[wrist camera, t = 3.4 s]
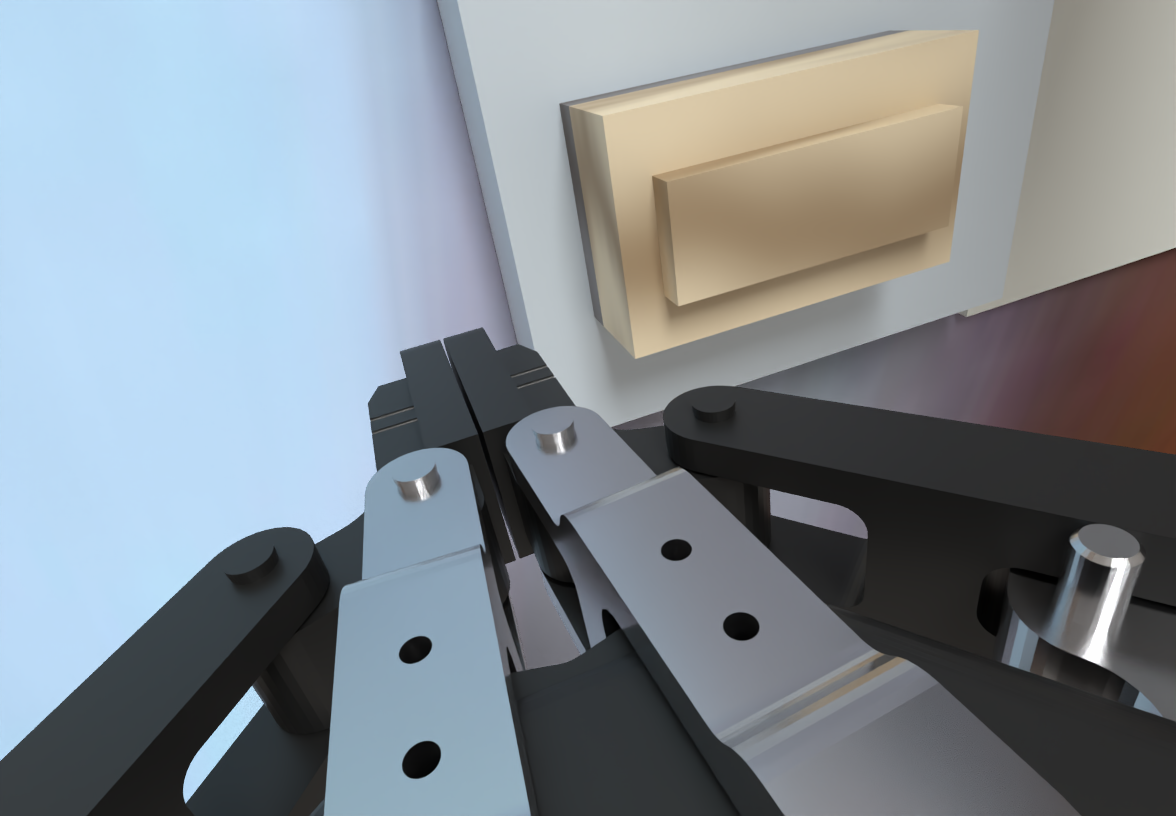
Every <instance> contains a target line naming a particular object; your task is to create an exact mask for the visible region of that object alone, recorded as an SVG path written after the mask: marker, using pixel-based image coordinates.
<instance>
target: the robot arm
mask: <svg viewBox="0 0 1176 816" xmlns="http://www.w3.org/2000/svg"><path fill="white" fill-rule="evenodd" d="M443 340H444V344H445V348H446V351H447V355H448V358H449V361H450V363H449V361H448V358H447V356H446V354H445V351H444V349H443V346H442V344H441V341H440V340H438V341H434V342H431V343H427V344H424V345H420V346H417V347H414V348H410V349H407V350H403V351H400V354H401V358H402V362H403V366H404V370H405V374H406V377H407V378H405V379H401V380H398V381H395V382H391V383H388V384H385V385H381V386H378V388H377V389H376V391H375V393H374V394H373V396H372V398H371V399H370V401H369V403H368V407H369V415H370V420H371V430H372V434H373V435H372V438H373V445H374V453H375V460H376V468H377V472H376V474H375V475H374V476H373V477H372V478H371V480H370V481H369V482H368V485H367V487H366V491H365V510H364V513H363V514H362V515H360V516H359V517H358V518H357V519H356V520H355V521H353V522H352V523H350V524H349V525H348V526H346V527H344V528H343V529H341V530H340V531H338V532H336V533H334V534H333V535H331V536H329V537H327V538H325V539H324V540H322V541H320V542H318V543H316V544H314V542H313V540H312V538H311V537H310V535H309V534H308V533H306V532H305V531H303V530H301V529H297V528H291V527H282V528H273V529H268V530H265V531H261V532H258V533H255V534H253V535H250V536H248V537H245V538H243V539H241V540H239V541H237V542H236V543H234V544H232V545H231V546H229V547H227V548H226V549H225V550H223V551H222V552H220V553H219V554H218V555H217V556H216V557H214V558H213V559H212V560H211V561H210V562H209V563H208V564H207V565H206V566H205V567H204V568H203V569H201V570H200V571H199V572H198V573H197V574H196V575H195V576H194V577H193V578H192V579H191V580H190V581H189V582H188V583H187V584H186V585H185V586H184V587H183V588H182V589H180V590H179V591H178V592H177V593H176V594H175V595H174V596H173V597H172V598H171V599H170V600H169V601H168V602H167V603H166V604H165V605H164V606H163V607H162V608H161V609H159V610H158V611H157V612H156V613H155V614H154V615H153V616H152V617H151V618H150V619H149V620H148V621H147V622H146V623H145V624H144V625H143V626H142V627H141V628H140V629H138V630H137V631H136V632H135V633H134V634H133V635H132V636H131V637H130V638H129V639H128V640H127V641H126V642H125V643H124V644H123V645H122V646H121V647H120V648H119V649H118V650H116V651H115V652H114V653H113V654H112V655H111V656H110V657H109V658H108V659H107V660H106V661H105V662H104V663H103V664H102V665H101V666H100V667H99V668H98V669H97V670H95V671H94V672H93V673H92V674H91V675H90V676H89V677H88V678H87V679H86V680H85V681H84V682H83V683H82V684H81V685H80V686H79V687H78V688H77V689H76V690H74V691H73V692H72V693H71V694H70V695H69V696H68V697H67V698H66V699H65V700H64V701H63V702H62V703H61V704H60V705H59V706H58V707H57V708H56V709H55V710H53V711H52V712H51V713H50V714H49V715H48V716H47V717H46V718H45V719H44V720H43V721H42V722H41V723H40V724H39V725H38V726H37V727H36V728H35V729H34V730H32V731H31V732H30V733H29V734H28V735H27V736H26V737H25V738H24V739H23V740H22V741H21V742H20V743H19V744H18V745H17V746H16V747H15V748H14V749H13V750H11V751H10V752H9V753H8V754H7V755H6V756H5V757H4V758H3V759H2V760H1V761H0V816H1176V455H1174V454H1167V453H1161V452H1154V451H1148V450H1141V449H1135V448H1128V447H1122V446H1115V445H1109V444H1102V443H1096V442H1090V441H1083V440H1077V439H1070V438H1064V437H1057V436H1051V435H1044V434H1038V433H1031V432H1025V431H1018V430H1012V429H1006V428H999V427H993V426H986V425H980V424H973V423H967V422H960V421H954V420H947V419H941V418H934V417H928V416H922V415H915V414H909V413H902V412H896V411H889V410H883V409H876V408H870V407H863V406H857V405H850V404H844V403H838V402H831V401H825V400H818V399H812V398H805V397H799V396H792V395H786V394H779V393H773V392H766V391H760V390H754V389H747V388H741V387H734V386H707V387H700V388H697V389H693V390H690V391H687V392H685V393H683V394H681V395H679V396H677V397H676V398H674V399H673V400H672V401H671V402H670V403H669V404H668V405H667V406H666V408H665V410H664V413H663V420H664V426H658V427H651V428H643V429H634V430H615V429H612V428H611V427H610V426H609V425H608V424H607V423H606V422H605V421H604V420H603V419H602V418H601V417H600V416H599V415H598V414H597V413H596V412H594V411H592V410H590V409H587V408H583V407H578V406H575V404H574V403H573V401H572V400H571V399H570V397H569V396H568V394H567V393H566V391H565V390H564V389H563V387H562V386H561V384H560V383H559V382H558V380H557V379H556V377H554V374H553V373H552V372H551V370H550V369H549V367H547V365H546V363H545V362H544V360H543V359H542V357H541V356H540V355H539V353H538V352H537V351H534V350H532V349H529V348H527V347H524V346H522V345H520V344H518V345H514V346H511V347H508V348H504V349H501V350H498V351H496V350H495V348H494V346H493V344H492V343H491V341H490V339H489V337H488V336H487V334H486V332H485V330H484V329H483V328H478V329H475V330H472V331H468V332H465V333H461V334H458V335H454V336H451V337H448V338H444V339H443ZM450 364H451V366H450ZM770 489H773V490H777V491H781V492H786V493H790V494H794V495H799V496H803V497H807V498H812V499H816V500H820V501H824V502H829V503H833V504H837V505H841V506H844V507H846V508H848V509H850V510H851V511H853V512H854V513H856V514H857V515H858V516H859V517H860V518H861V519H862V520H863V522H864V523H865V525H866V527H867V531H868V539H863V538H859V537H855V536H851V535H847V534H843V533H839V532H835V531H831V530H827V529H823V528H819V527H815V526H811V525H808V524H804V523H800V522H796V521H792V520H788V519H784V518H780V517H776V516H772V515H771V513H770ZM500 508H501V509H500ZM501 511H502V512H501ZM502 514H503V516H504V519H505V521H506V524H507V527H508V529H509V532H510V534H511V537H512V539H513V542H514V545H515V547H516V550H517V552H518V555H519V557H520V558H523V557H525V556H528V555H531V554H533V553H534V554H535V556H536V558H537V561H538V563H539V567H540V570H541V574H542V577H543V581H544V585H545V588H546V591H547V593H548V595H549V597H550V599H551V601H552V603H553V605H554V606H555V608H556V610H557V612H558V614H559V616H560V618H561V619H562V621H563V623H564V625H565V627H566V629H567V630H568V632H569V634H570V636H571V638H572V640H573V642H574V643H575V645H576V647H577V649H578V651H579V653H580V656H579V657H577V658H575V659H574V660H572V661H569V662H567V663H563V664H559V665H553V666H547V667H542V668H536V669H530V670H528V668H527V663H526V659H525V655H524V650H523V646H522V642H521V637H520V633H519V629H518V624H517V620H516V616H515V611H514V607H513V604H512V601H511V597H510V594H509V589H510V580H509V575H508V572H507V569H506V566H505V564H507V563H510V562H512V561H515V560H516V559H515V556H514V553H513V549H512V546H511V543H510V539H509V536H508V533H507V529H506V526H505V523H504V519H503V516H502ZM251 686H253V688H254V689H255V691H256V692H257V694H258V695H259V697H260V698H261V700H262V701H263V703H264V705H263V706H262V707H261V708H260V710H259V711H258V712H257V713H256V715H255V716H254V717H253V719H252V720H251V721H250V722H249V724H248V725H247V726H246V727H245V729H244V730H243V731H242V733H241V734H240V735H239V736H238V738H237V739H236V740H235V742H234V743H233V744H232V745H231V747H230V748H229V749H228V750H227V752H226V753H225V754H224V756H223V757H222V758H221V759H220V761H219V762H218V763H217V765H216V766H215V767H214V768H213V770H212V771H211V772H210V773H209V775H208V776H207V777H206V779H205V780H204V781H203V782H202V784H201V785H200V786H199V787H198V789H197V790H196V791H195V793H194V794H193V795H192V796H191V798H190V799H189V800H188V802H187V803H186V804H185V801H184V798H183V784H184V779H185V776H186V773H187V770H188V768H189V765H190V763H191V762H192V760H193V758H194V756H195V755H196V754H197V752H198V751H199V750H200V748H201V747H202V746H203V745H204V743H205V742H206V741H207V740H208V739H209V737H210V736H211V735H212V734H213V732H214V731H215V730H216V729H217V728H218V726H219V725H220V724H221V723H222V721H223V720H224V719H225V718H226V717H227V715H228V714H229V713H230V712H231V710H232V709H233V708H234V707H235V706H236V704H237V703H238V702H239V701H240V699H241V698H242V697H243V696H244V695H245V693H246V692H247V691H248V690H249V689H250V687H251Z"/></svg>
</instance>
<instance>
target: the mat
mask: <svg viewBox="0 0 1176 816" xmlns="http://www.w3.org/2000/svg"><path fill="white" fill-rule="evenodd" d="M1173 248H1176V0H1054V5H1053V11H1052V17H1051V23H1050V28H1049V34H1048V40H1047V45H1046V51H1045V57H1044V62H1043V68H1042V74H1041V80H1040V85H1039V91H1038V97H1037V102H1036V108H1035V114H1034V119H1033V125H1032V131H1031V137H1030V142H1029V148H1028V154H1027V159H1026V165H1025V171H1024V177H1023V182H1022V188H1021V194H1020V199H1019V205H1018V211H1017V216H1016V222H1015V228H1014V234H1013V239H1012V245H1011V251H1010V256H1009V262H1008V268H1007V274H1006V279H1005V285H1004V291H1003V296H1002V298H1001V299H998V300H995V301H992V302H989V303H986V304H983V305H980V306H977V307H974V308H971V309H968V310H965V311H962V312H959V314H961V315H963V316H965V317H969V316H972V315H975V314H978V313H981V312H984V311H987V310H990V309H993V308H996V307H999V306H1002V305H1005V304H1008V303H1011V302H1014V301H1017V300H1020V299H1023V298H1026V297H1029V296H1032V295H1035V294H1038V293H1041V292H1044V291H1047V290H1050V289H1053V288H1056V287H1059V286H1062V285H1065V284H1068V283H1071V282H1074V281H1077V280H1080V279H1083V278H1086V277H1089V276H1092V275H1095V274H1098V273H1101V272H1104V271H1107V270H1110V269H1113V268H1116V267H1119V266H1122V265H1125V264H1128V263H1131V262H1134V261H1137V260H1140V259H1143V258H1146V257H1149V256H1152V255H1155V254H1158V253H1161V252H1164V251H1167V250H1170V249H1173Z"/></svg>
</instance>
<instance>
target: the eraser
mask: <svg viewBox="0 0 1176 816" xmlns="http://www.w3.org/2000/svg"><path fill="white" fill-rule="evenodd" d="M978 35H979V30H889V31H885V32H880V33H875V34H871V35H866V36H862V37H857V38H853V39H848V40H844V41H839V42H835V43H830V44H826V45H821V46H817V47H812V48H808V49H803V50H799V51H794V52H790V53H785V54H780V55H776V56H771V57H767V58H762V59H758V60H753V61H749V62H744V63H740V64H735V65H731V66H726V67H722V68H717V69H713V70H708V71H704V72H699V73H695V74H690V75H686V76H681V77H676V78H672V79H667V80H663V81H658V82H654V83H649V84H645V85H640V86H636V87H631V88H627V89H622V90H618V91H613V92H609V93H604V94H600V95H595V96H591V97H586V98H582V99H577V100H572V101H568V102H563V103H559V105H560V111H561V117H562V123H563V129H564V135H565V142H566V148H567V154H568V160H569V166H570V172H571V178H572V184H573V190H574V196H575V202H576V208H577V214H578V220H579V226H580V232H581V238H582V244H583V251H584V257H585V263H586V269H587V275H588V281H589V287H590V293H591V299H592V305H593V311H594V317H595V318H596V319H597V320H598V321H599V322H600V323H601V324H602V325H603V326H604V327H605V328H606V329H607V330H608V331H609V332H610V333H611V335H612V336H613V337H614V338H615V339H616V340H617V341H618V342H619V343H620V344H621V345H622V346H623V347H624V348H625V349H626V350H627V351H628V352H629V353H630V354H631V355H632V356H633V357H634V358H635V359H637V358H641V357H644V356H647V355H650V354H653V353H657V352H660V351H663V350H666V349H670V348H673V347H676V346H679V345H682V344H686V343H689V342H692V341H695V340H699V339H702V338H705V337H708V336H711V335H715V334H718V333H721V332H724V331H728V330H731V329H734V328H737V327H740V326H744V325H747V324H750V323H753V322H757V321H760V320H763V319H766V318H769V317H773V316H776V315H779V314H782V313H786V312H789V311H792V310H795V309H798V308H802V307H805V306H808V305H811V304H815V303H818V302H821V301H824V300H827V299H831V298H834V297H837V296H840V295H844V294H847V293H850V292H853V291H856V290H860V289H863V288H866V287H869V286H873V285H876V284H879V283H882V282H885V281H889V280H892V279H895V278H898V277H902V276H905V275H908V274H911V273H914V272H918V271H921V270H924V269H927V268H931V267H934V266H937V265H940V264H943V263H947V262H950V254H951V246H952V238H953V231H954V223H955V215H956V207H957V199H958V191H959V184H960V176H961V168H962V160H963V152H964V144H965V137H966V129H967V121H968V113H969V105H970V98H971V90H972V82H973V74H974V66H975V58H976V51H977V43H978Z"/></svg>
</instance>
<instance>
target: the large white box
mask: <svg viewBox="0 0 1176 816" xmlns="http://www.w3.org/2000/svg"><path fill="white" fill-rule="evenodd" d="M437 3H438V7H439V11H440V15H441V20H442V24H443V28H444V32H445V37H446V41H447V45H448V49H449V54H450V58H451V62H452V66H453V71H454V75H455V79H456V83H457V88H458V92H459V96H460V100H461V105H462V109H463V113H464V117H465V122H466V126H467V130H468V134H469V139H470V143H471V147H472V151H473V156H474V160H475V164H476V168H477V173H478V177H479V181H480V185H481V190H482V194H483V198H484V203H485V207H486V211H487V215H488V220H489V224H490V228H491V232H492V237H493V241H494V245H495V249H496V254H497V258H498V262H499V266H500V271H501V275H502V279H503V283H504V288H505V292H506V296H507V300H508V305H509V309H510V313H511V317H512V322H513V326H514V330H515V334H516V339H517V343H518V344H520V345H522V346H524V347H527V348H529V349H532V350H534V351H537V352H538V353H539V355H540V356H541V357H542V359H543V360H544V362H545V363H546V365H547V367H549V369H550V370H551V372H552V373H553V374H554V377H556V379H557V380H558V382H559V383H560V384H561V386H562V387H563V389H564V390H565V391H566V393H567V394H568V396H569V397H570V399H571V400H572V401H573V403H574V404H575V406H578V407H583V408H587V409H590V410H592V411H594V412H596V413H597V414H598V415H599V416H600V417H601V418H602V419H603V420H604V421H605V422H606V423H607V424H608V425H609V426H610V427H613V426H616V425H619V424H622V423H625V422H628V421H631V420H634V419H637V418H640V417H643V416H646V415H650V414H653V413H656V412H659V411H662V410H665V408H666V406H667V405H668V404H669V403H670V402H671V401H672V400H673V399H674V398H676V397H677V396H679V395H681V394H683V393H685V392H687V391H690V390H693V389H697V388H700V387H707V386H737V385H740V384H743V383H746V382H750V381H753V380H756V379H759V378H762V377H765V376H768V375H771V374H774V373H777V372H780V371H783V370H786V369H789V368H792V367H795V366H798V365H801V364H804V363H807V362H810V361H813V360H816V359H819V358H822V357H825V356H828V355H831V354H834V353H837V352H840V351H843V350H846V349H850V348H853V347H856V346H859V345H862V344H865V343H868V342H871V341H874V340H877V339H880V338H883V337H886V336H889V335H892V334H895V333H898V332H901V331H904V330H907V329H910V328H913V327H916V326H919V325H922V324H925V323H928V322H931V321H934V320H937V319H940V318H943V317H947V316H950V315H953V314H956V313H959V312H962V311H965V310H968V309H971V308H974V307H977V306H980V305H983V304H986V303H989V302H992V301H995V300H998V299H1001V298H1002V296H1003V291H1004V285H1005V279H1006V274H1007V268H1008V262H1009V256H1010V251H1011V245H1012V239H1013V234H1014V228H1015V222H1016V216H1017V211H1018V205H1019V199H1020V194H1021V188H1022V182H1023V177H1024V171H1025V165H1026V159H1027V154H1028V148H1029V142H1030V137H1031V131H1032V125H1033V119H1034V114H1035V108H1036V102H1037V97H1038V91H1039V85H1040V80H1041V74H1042V68H1043V62H1044V57H1045V51H1046V45H1047V40H1048V34H1049V28H1050V23H1051V17H1052V11H1053V5H1054V0H437ZM889 30H979V35H978V43H977V51H976V58H975V66H974V74H973V82H972V90H971V98H970V105H969V113H968V121H967V129H966V137H965V144H964V152H963V160H962V168H961V176H960V184H959V191H958V199H957V207H956V215H955V223H954V231H953V238H952V246H951V254H950V262H947V263H943V264H940V265H937V266H934V267H931V268H927V269H924V270H921V271H918V272H914V273H911V274H908V275H905V276H902V277H898V278H895V279H892V280H889V281H885V282H882V283H879V284H876V285H873V286H869V287H866V288H863V289H860V290H856V291H853V292H850V293H847V294H844V295H840V296H837V297H834V298H831V299H827V300H824V301H821V302H818V303H815V304H811V305H808V306H805V307H802V308H798V309H795V310H792V311H789V312H786V313H782V314H779V315H776V316H773V317H769V318H766V319H763V320H760V321H757V322H753V323H750V324H747V325H744V326H740V327H737V328H734V329H731V330H728V331H724V332H721V333H718V334H715V335H711V336H708V337H705V338H702V339H699V340H695V341H692V342H689V343H686V344H682V345H679V346H676V347H673V348H670V349H666V350H663V351H660V352H657V353H653V354H650V355H647V356H644V357H641V358H637V359H635V358H634V357H633V356H632V355H631V354H630V353H629V352H628V351H627V350H626V349H625V348H624V347H623V346H622V345H621V344H620V343H619V342H618V341H617V340H616V339H615V338H614V337H613V336H612V335H611V333H610V332H609V331H608V330H607V329H606V328H605V327H604V326H603V325H602V324H601V323H600V322H599V321H598V320H597V319H596V318H595V317H594V311H593V305H592V299H591V293H590V287H589V281H588V275H587V269H586V263H585V257H584V251H583V244H582V238H581V232H580V226H579V220H578V214H577V208H576V202H575V196H574V190H573V184H572V178H571V172H570V166H569V160H568V154H567V148H566V142H565V135H564V129H563V123H562V117H561V111H560V105H559V103H563V102H568V101H572V100H577V99H582V98H586V97H591V96H595V95H600V94H604V93H609V92H613V91H618V90H622V89H627V88H631V87H636V86H640V85H645V84H649V83H654V82H658V81H663V80H667V79H672V78H676V77H681V76H686V75H690V74H695V73H699V72H704V71H708V70H713V69H717V68H722V67H726V66H731V65H735V64H740V63H744V62H749V61H753V60H758V59H762V58H767V57H771V56H776V55H780V54H785V53H790V52H794V51H799V50H803V49H808V48H812V47H817V46H821V45H826V44H830V43H835V42H839V41H844V40H848V39H853V38H857V37H862V36H866V35H871V34H875V33H880V32H885V31H889Z"/></svg>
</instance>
